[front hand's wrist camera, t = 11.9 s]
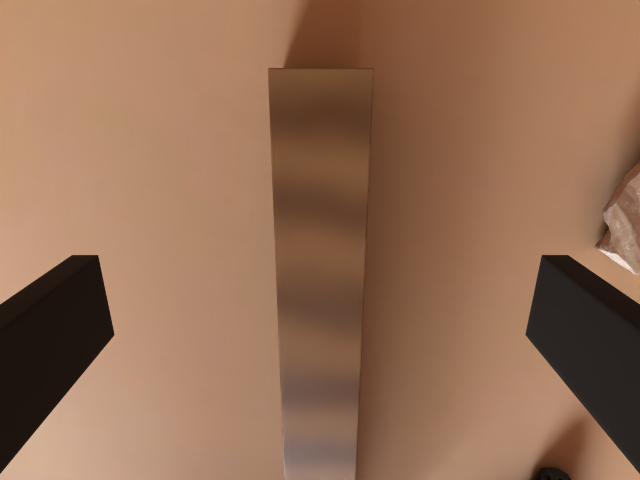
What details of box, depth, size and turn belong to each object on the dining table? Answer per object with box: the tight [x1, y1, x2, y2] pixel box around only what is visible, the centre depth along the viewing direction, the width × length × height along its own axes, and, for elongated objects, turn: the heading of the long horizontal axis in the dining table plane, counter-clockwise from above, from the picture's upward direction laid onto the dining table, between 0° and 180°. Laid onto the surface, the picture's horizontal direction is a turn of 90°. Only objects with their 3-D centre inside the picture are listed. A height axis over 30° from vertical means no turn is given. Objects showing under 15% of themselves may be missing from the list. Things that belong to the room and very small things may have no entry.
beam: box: [268, 68, 374, 480], centre depth 33 cm, size 50×5×8 cm, turn 0°
